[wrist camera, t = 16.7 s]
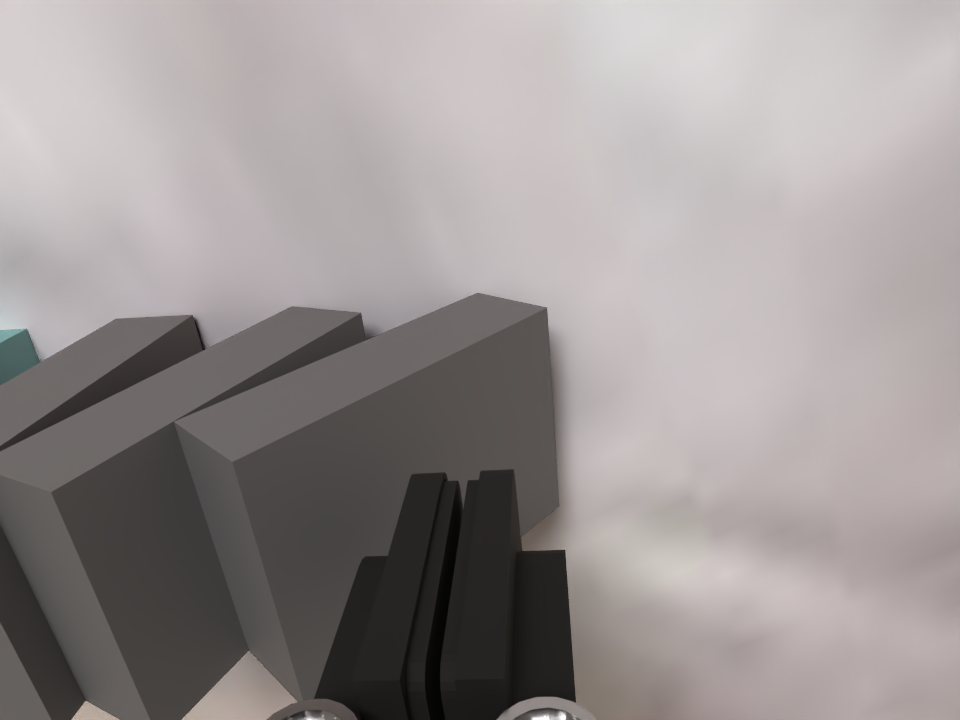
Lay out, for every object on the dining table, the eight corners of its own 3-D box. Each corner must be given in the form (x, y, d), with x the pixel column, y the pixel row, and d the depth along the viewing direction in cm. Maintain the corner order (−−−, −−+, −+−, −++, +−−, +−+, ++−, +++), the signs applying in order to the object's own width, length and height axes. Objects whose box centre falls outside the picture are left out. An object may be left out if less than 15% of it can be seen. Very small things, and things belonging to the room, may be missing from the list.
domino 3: (547, 307, 14) (232, 461, 9) (558, 506, 16) (306, 710, 11) (477, 292, 15) (173, 422, 11) (497, 477, 17) (249, 650, 13)
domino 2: (361, 313, 14) (50, 492, 9) (395, 500, 17) (159, 741, 11) (292, 306, 15) (-29, 465, 10) (332, 485, 17) (85, 700, 12)
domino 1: (192, 314, 16) (-69, 492, 9) (244, 491, 18) (59, 735, 11) (116, 319, 16) (-186, 492, 10) (175, 491, 18) (-42, 728, 12)
